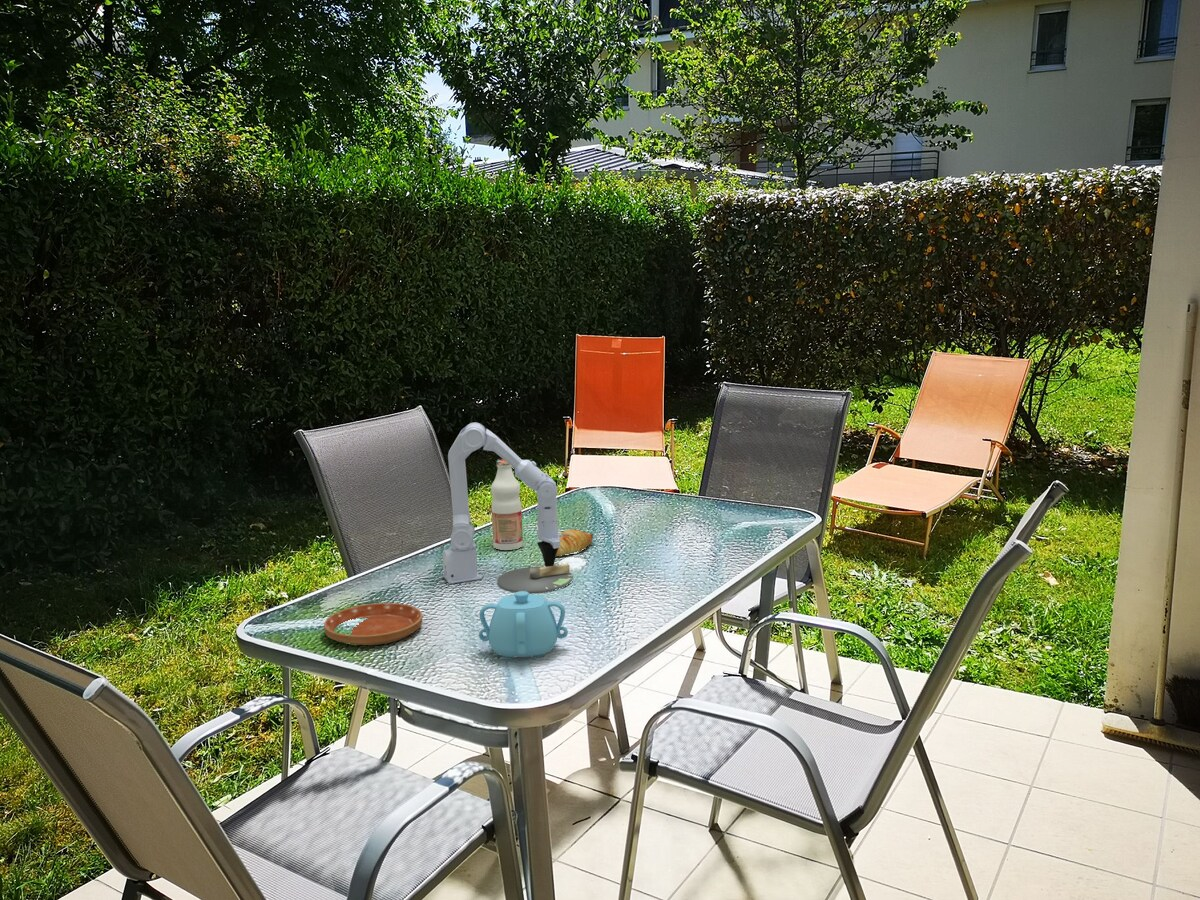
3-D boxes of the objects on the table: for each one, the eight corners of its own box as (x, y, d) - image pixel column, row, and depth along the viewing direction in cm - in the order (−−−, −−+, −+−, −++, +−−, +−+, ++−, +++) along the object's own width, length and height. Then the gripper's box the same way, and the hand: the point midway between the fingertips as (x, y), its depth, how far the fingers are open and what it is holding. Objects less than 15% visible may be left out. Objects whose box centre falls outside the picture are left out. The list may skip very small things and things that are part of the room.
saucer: (383, 609, 233) (382, 595, 233) (442, 628, 219) (441, 613, 218) (305, 636, 216) (304, 621, 216) (364, 659, 202) (362, 643, 201)
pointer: (531, 578, 250) (531, 570, 250) (528, 576, 253) (528, 567, 253) (570, 573, 255) (570, 564, 254) (567, 570, 257) (566, 562, 257)
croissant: (556, 571, 272) (564, 551, 268) (532, 552, 276) (540, 531, 273) (598, 553, 288) (606, 533, 285) (575, 534, 293) (583, 515, 289)
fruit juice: (487, 547, 287) (482, 461, 282) (510, 541, 293) (506, 456, 288) (505, 553, 280) (501, 464, 275) (529, 547, 286) (525, 460, 281)
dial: (510, 597, 239) (509, 594, 239) (488, 575, 258) (488, 572, 258) (584, 586, 247) (583, 583, 247) (557, 565, 266) (557, 562, 266)
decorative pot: (532, 631, 215) (530, 576, 213) (574, 650, 203) (572, 592, 201) (474, 650, 205) (470, 592, 203) (514, 671, 193) (511, 610, 190)
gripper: (569, 524, 251) (571, 571, 254) (552, 513, 265) (554, 558, 267) (545, 527, 249) (547, 574, 251) (529, 516, 262) (531, 561, 264)
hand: (549, 566), depth 259 cm, fingers closed
